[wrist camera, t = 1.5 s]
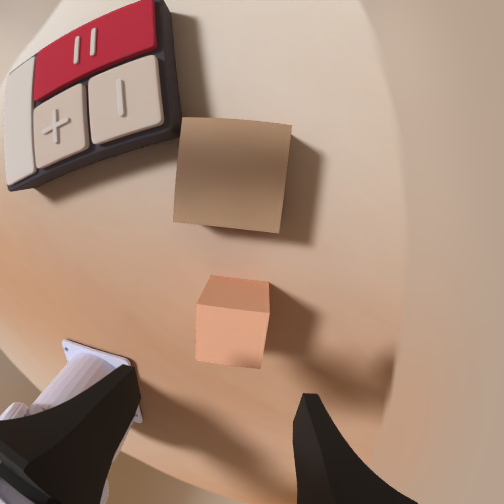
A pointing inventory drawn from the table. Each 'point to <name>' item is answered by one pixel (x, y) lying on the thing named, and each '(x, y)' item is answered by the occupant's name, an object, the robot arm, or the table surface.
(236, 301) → the terracotta block
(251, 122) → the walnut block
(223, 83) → the table surface
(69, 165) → the calculator
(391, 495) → the robot arm
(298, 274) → the table surface
